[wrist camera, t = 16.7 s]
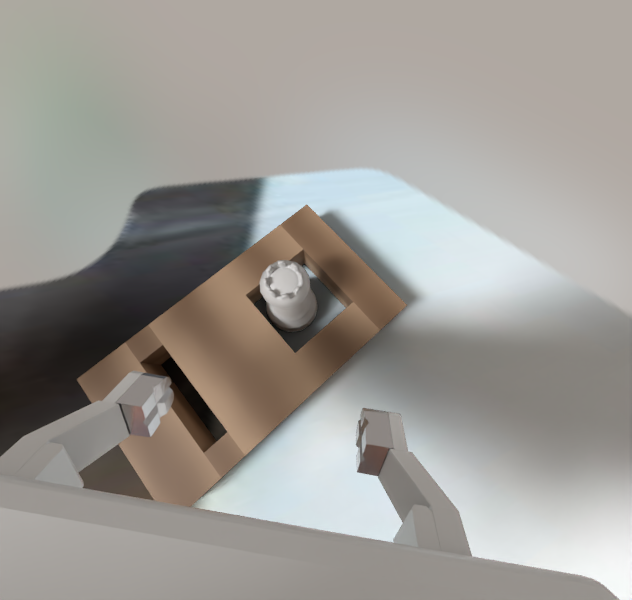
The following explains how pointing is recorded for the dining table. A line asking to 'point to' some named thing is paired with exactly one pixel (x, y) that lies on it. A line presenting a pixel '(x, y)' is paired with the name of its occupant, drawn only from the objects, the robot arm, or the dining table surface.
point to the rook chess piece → (288, 296)
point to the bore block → (241, 357)
